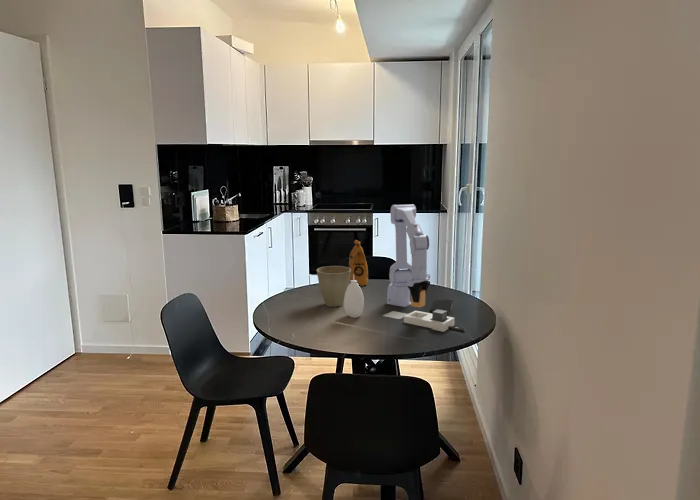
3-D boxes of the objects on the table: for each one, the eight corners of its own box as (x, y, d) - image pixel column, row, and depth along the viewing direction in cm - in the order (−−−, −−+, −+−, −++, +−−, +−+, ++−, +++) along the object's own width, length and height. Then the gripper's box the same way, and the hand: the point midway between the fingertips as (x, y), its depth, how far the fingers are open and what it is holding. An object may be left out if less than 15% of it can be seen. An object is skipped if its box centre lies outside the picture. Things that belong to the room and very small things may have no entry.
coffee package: (349, 286, 258) (348, 243, 254) (348, 281, 270) (347, 239, 266) (368, 286, 258) (368, 243, 254) (367, 280, 270) (367, 239, 266)
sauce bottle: (354, 313, 213) (353, 271, 210) (367, 317, 208) (367, 273, 204) (340, 317, 208) (339, 274, 205) (354, 321, 202) (353, 277, 199)
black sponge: (450, 318, 205) (450, 310, 205) (429, 317, 207) (429, 308, 207) (453, 307, 221) (453, 299, 220) (433, 306, 223) (433, 298, 222)
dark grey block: (432, 327, 195) (432, 311, 194) (437, 324, 198) (437, 309, 197) (441, 329, 192) (442, 313, 191) (446, 326, 195) (446, 311, 194)
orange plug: (411, 306, 199) (411, 290, 198) (416, 303, 202) (416, 288, 201) (420, 307, 197) (420, 292, 195) (425, 305, 200) (425, 290, 199)
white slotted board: (403, 323, 199) (403, 316, 199) (415, 317, 206) (415, 310, 206) (458, 334, 186) (459, 326, 185) (469, 328, 193) (469, 320, 192)
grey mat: (382, 316, 208) (382, 315, 208) (392, 312, 214) (392, 310, 214) (399, 320, 203) (399, 319, 203) (409, 315, 209) (409, 314, 209)
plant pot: (311, 307, 222) (310, 271, 219) (326, 299, 236) (325, 265, 233) (343, 311, 217) (343, 274, 214) (356, 301, 230) (356, 267, 227)
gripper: (419, 271, 188) (418, 306, 191) (437, 264, 200) (436, 298, 202) (402, 268, 192) (402, 303, 195) (421, 262, 204) (420, 295, 206)
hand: (418, 300), depth 199 cm, fingers closed on orange plug, 4 cm apart
